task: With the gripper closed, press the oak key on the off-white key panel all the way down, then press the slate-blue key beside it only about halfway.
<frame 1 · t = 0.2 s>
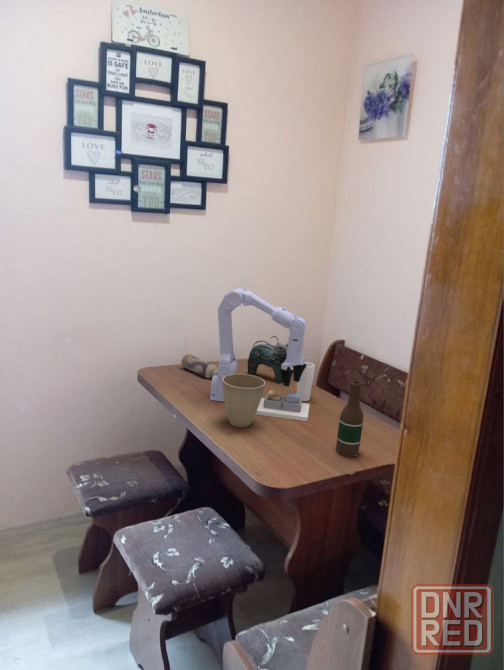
hand: (291, 383, 205), 10 cm above the table, tool pointing down, fingers open, 7 cm apart
decorative bottle: (201, 375, 238), on the table
drinking glass: (302, 399, 218), on the table
plant pot: (240, 423, 190), on the table
ceramic cat: (266, 379, 240), on the table
key panel: (282, 410, 204), on the table
key slate: (292, 397, 202), point 6 cm above the table, slide at 0.0 cm
beer bottle: (347, 452, 174), on the table
key oak: (274, 395, 203), point 6 cm above the table, slide at 0.0 cm
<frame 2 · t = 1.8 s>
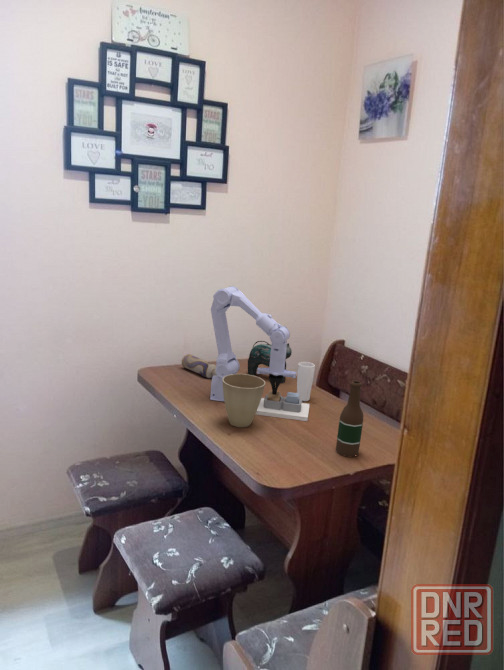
hand: (274, 393, 203), 6 cm above the table, tool pointing down, fingers closed, pressing on key oak
key oak: (274, 396, 203), point 5 cm above the table, slide at 0.5 cm, touching gripper
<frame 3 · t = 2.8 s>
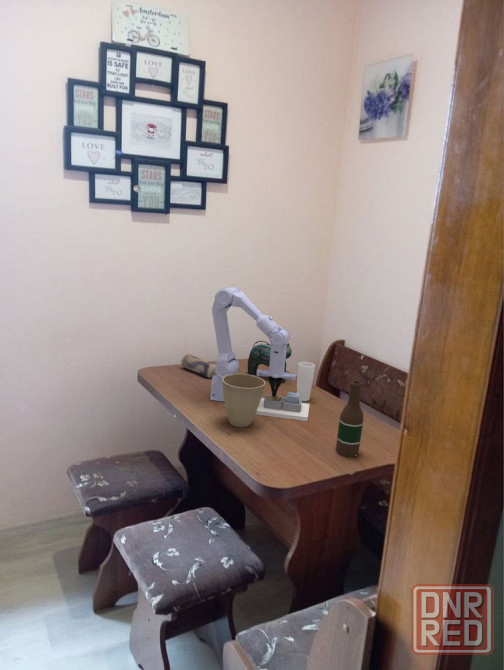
hand: (274, 395, 203), 6 cm above the table, tool pointing down, fingers closed
key oak: (273, 400, 204), point 4 cm above the table, slide at 2.2 cm
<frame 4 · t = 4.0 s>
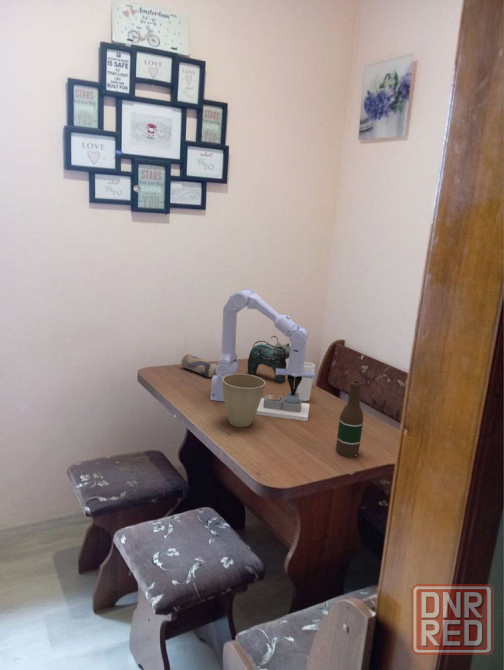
hand: (293, 394, 202), 7 cm above the table, tool pointing down, fingers closed, pressing on key slate
key slate: (292, 397, 202), point 6 cm above the table, slide at 0.0 cm, touching gripper
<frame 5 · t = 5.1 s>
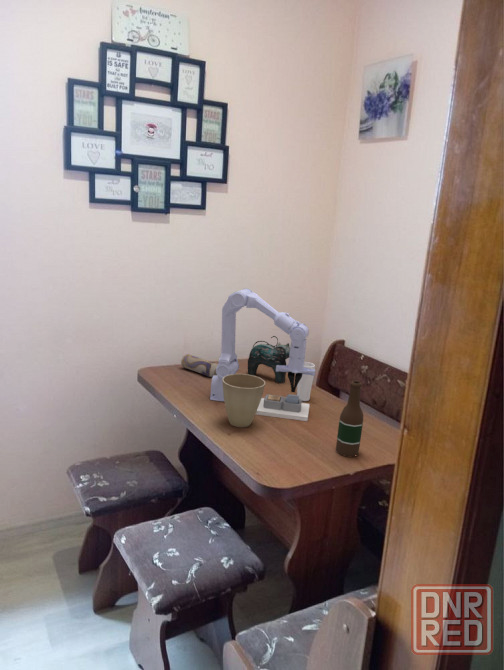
hand: (293, 391, 202), 8 cm above the table, tool pointing down, fingers closed
key slate: (292, 399, 203), point 5 cm above the table, slide at 0.9 cm
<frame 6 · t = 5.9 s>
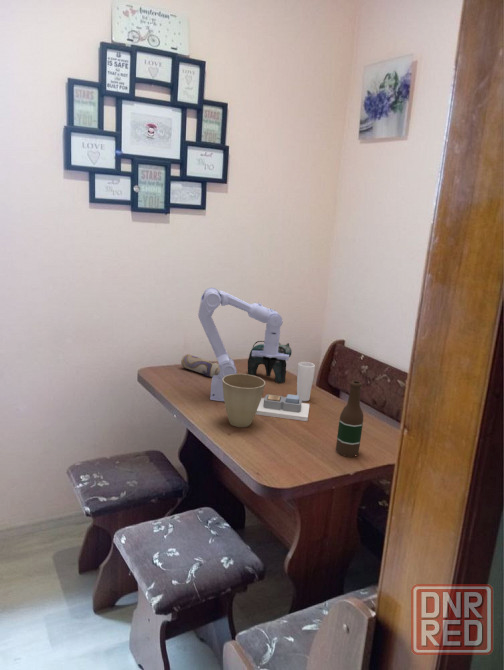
hand: (268, 375, 212), 10 cm above the table, tool pointing down, fingers closed
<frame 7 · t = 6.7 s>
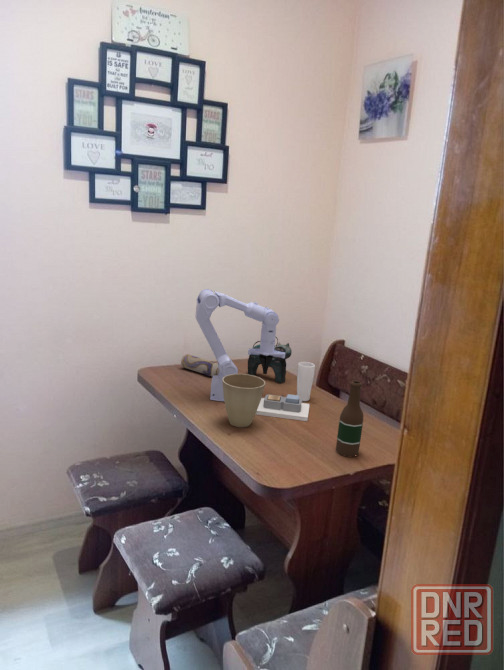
hand: (265, 373, 214), 10 cm above the table, tool pointing down, fingers closed
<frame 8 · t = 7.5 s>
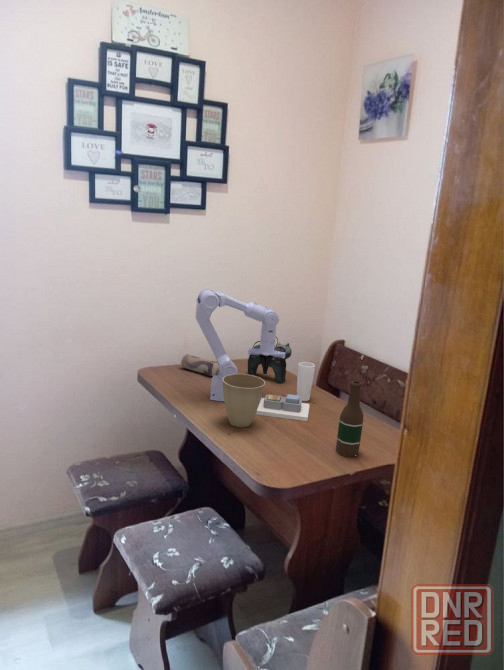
hand: (265, 373, 214), 10 cm above the table, tool pointing down, fingers closed
at the end: key oak slide at 2.2 cm; key slate slide at 0.9 cm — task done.
